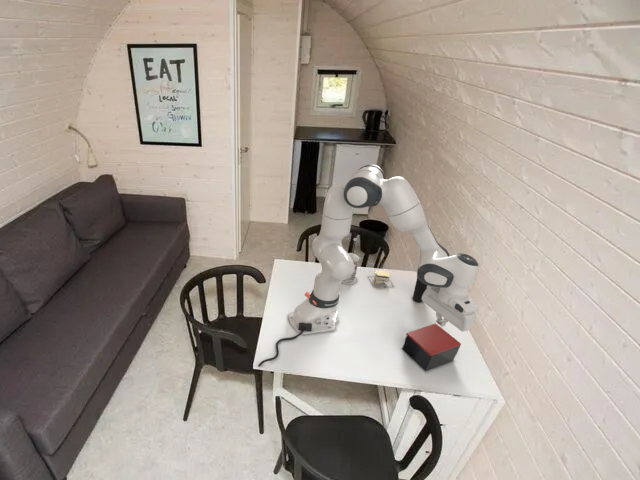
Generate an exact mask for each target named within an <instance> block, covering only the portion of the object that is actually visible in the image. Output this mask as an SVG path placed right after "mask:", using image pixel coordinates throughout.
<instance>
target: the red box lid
mask: <svg viewBox="0 0 640 480" xmlns="http://www.w3.org/2000/svg"><path fill="white" fill-rule="evenodd" d="M405 335H406V336H407V335H408V336H409V337H410V338H411V339H412V340H413V341H414V342H415V343H417V344H418V345H419V346H420V347H421V348H422V349H423V350H424V351H425V352H427V353H428V354H429V355H430V356H433V355H435V354H438V353H441V352H443V351H446V350H449V349H452V348H454V347H457V346H460V345H461V346H462V343H461V342H460V341H458V340H457V339H456V338H455V337H453V336H452V335H451V334H450V333H449V332H447V331H446V330H445V329H444V328H442V326H441V325H439V324H438V323H437V322H435V323H433V324H429V325H427V326H424V327H420V328H417V329H414V330H411V331H408V332H406V333H405ZM461 346H460V347H461Z"/></svg>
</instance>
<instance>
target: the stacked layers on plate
mask: <svg viewBox="0 0 640 480" xmlns="http://www.w3.org/2000/svg"><path fill="white" fill-rule="evenodd" d="M390 276H391V273H389V272H388V271H387V270H384V269H381V270H380V269H379V270H374V275H373V276H369V277H368V279H369V281H370V282H371V284H372V286H373V288H393V285H392V283H391V281H390V278H391V277H390Z"/></svg>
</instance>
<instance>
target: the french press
mask: <svg viewBox="0 0 640 480" xmlns="http://www.w3.org/2000/svg"><path fill="white" fill-rule="evenodd" d="M352 240H353V241H354V242H353V244H355V242H357V241H358V239H357V238H356V237H354V238H353V239H352ZM354 247H355V245H353V247H352V249H354ZM353 251H354V250H352V252H347V253H348V254H349V255H350V256H351V258H352V260H353V262H354V265H355V270H354V272H353V274H352V275H351V276H350V277H349V278H347V279H345V280H342V283H341V284H343V285H344V284H345V285H354V284H355V283H356V282H357V279H356V274H357V270H358V264H357V262H359V261H360V256H359V255H358V254H356V253H353Z"/></svg>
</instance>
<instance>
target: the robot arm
mask: <svg viewBox="0 0 640 480" xmlns="http://www.w3.org/2000/svg"><path fill="white" fill-rule="evenodd" d="M378 204H380V205H381V206H382V209H383V210H384V212H385V214H386V216H387V219H388V220H389V222H390V224H391V225H392V227H393V228H394V229H395V230H396V231H398V232H401V233H409V234H411V236H412V238H413V240H414V241H415V243H416V245H417V247H418V249H419V261H418V266H417V270H416V278H417V277H418V279H419V280H420V281H421V282H422V283H424V284H426V285H427V289H426V290H425V292H424V293H423V295H422V301H423V302H422V303H424V304H426V306H428V307H429V308H430V309H432V310H433V311H434V312H435V318H436V320H435V323H436V324H437V325H439V326H440V327H445V326H446V324H447V323H448V322H449V323H450V324H451V325H453V326H454V327H455V328H457V329H458V330H459V331H460V332H462V333H463V332H468V331H470V330H472V328H473V327H474V324H475V323H476V320H477V319H476V318H477V314H476V312H477V311H479V309H480V306H479V305H478V304H477V303H476V302H475V300H474V299H473V298H472V297H471V295H470V288H471V287H472V286H473V285H474V283H475V280H476V278H477V276H478V272H479V267H480V266H479V262H478V260H476V258H474V257H473V256H472V255H470V254H467V253H464V252H459V253H456V254H454V255H450V253H449V251H448V250H447V249H446V248H445V247H444V246H443V245H441V244H440V243H439V241H438V240H437V239H436V237H435V235H434V233H433V232H432V230H431V228H430V226H429V223H428V221H427V219H426V215H425V211H424V208H423V206H422V203H421V201H420V199H419V197H418V195H417V193H416V191H415V190H414V188H413V187H412V185H411V184H410V183H409V181H408V180H407V179H406V178H404V177H403V176H393V177H391V178H388V179H386V177H385V173H384V170H383V169H382V168H381V167H380V166H379V165H376V164H366V165H364V166H361V167H360V168H358V169H357V171H356V172H354V174H352V176H351V177H350V179H349V180H348V181H347V183H346V184H344V183H343V184H342V183H338V184H334V185H332V186H330V188H328V190H327V193H326V196H325V199H324V204H323V208H322V209H323V210H322V216H321V217H322V218H321V225H320V231H319V234H318V235H317V236H316V237H314V239H313V240H312V243H311V249H312V252H313V255H314V256H315V258H316V259H317V261H318V262H319V263H320V265H321V271H320V272H319V273H317V274H316V276H315V278H314V284H313V289H312V290H311V292H309V291H305V293H304V296H305V297H306V299H305V300H304V301H302V302H301V303H300V304H298V305H296V307H295V309H294V311H293V312H290V313H289V314H288V321H289V323H290V325H291V326H292V327H293V329H294V330H295V331H297V333H298V334H296V335H295V336H292V337H283V338H280V339H279V340H277V341H276V343H275V349H276V350H275V351H276V354H275V356H273V357H270V358H266V359H264V360H262V361H260V362H259V364H257V367H258V368H260V367H261V366H262V365H263V364H265V363H266V362H270V361H271V362H272V361H274V360H276V359H277V358H278V357H279V353H280V350H279V344H280V343H281V342H283V341H291V340H295V339H297V338H299V337H300V336H301V335H310V334H319V333H326V332H333V331H335V329H336V325H337V323H338V311H337V309H338V304H339V300H340V290H341V285H342V284H343V283H342V280H345V279H347V278H349V277H350V276H351V275H352V274H353V272H354V270H355V265H354V262H353V260H352V258H351V256H350V255H349V254H348V253H349V252H347V250H346V249H345V248H344V246H343V239H344V238H346V237H348V236H349V235H350V233H351V227H352V222H353V214H354V209H364V208H368V207H376V206H378Z"/></svg>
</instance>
